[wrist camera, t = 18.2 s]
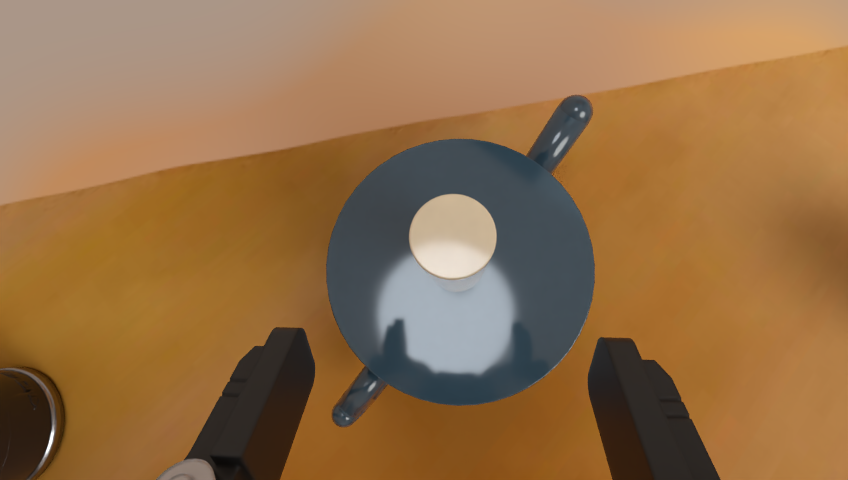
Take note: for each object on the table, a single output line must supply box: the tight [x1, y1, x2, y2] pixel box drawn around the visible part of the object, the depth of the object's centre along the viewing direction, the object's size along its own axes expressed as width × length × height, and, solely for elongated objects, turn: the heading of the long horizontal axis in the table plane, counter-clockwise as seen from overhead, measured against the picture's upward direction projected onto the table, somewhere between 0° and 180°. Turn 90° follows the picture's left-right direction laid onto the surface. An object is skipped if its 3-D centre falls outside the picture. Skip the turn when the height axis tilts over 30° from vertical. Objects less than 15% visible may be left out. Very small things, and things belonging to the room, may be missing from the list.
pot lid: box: [326, 139, 595, 406], centre depth 18 cm, size 14×14×9 cm
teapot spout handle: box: [332, 95, 593, 427], centre depth 25 cm, size 23×2×7 cm, turn 142°
